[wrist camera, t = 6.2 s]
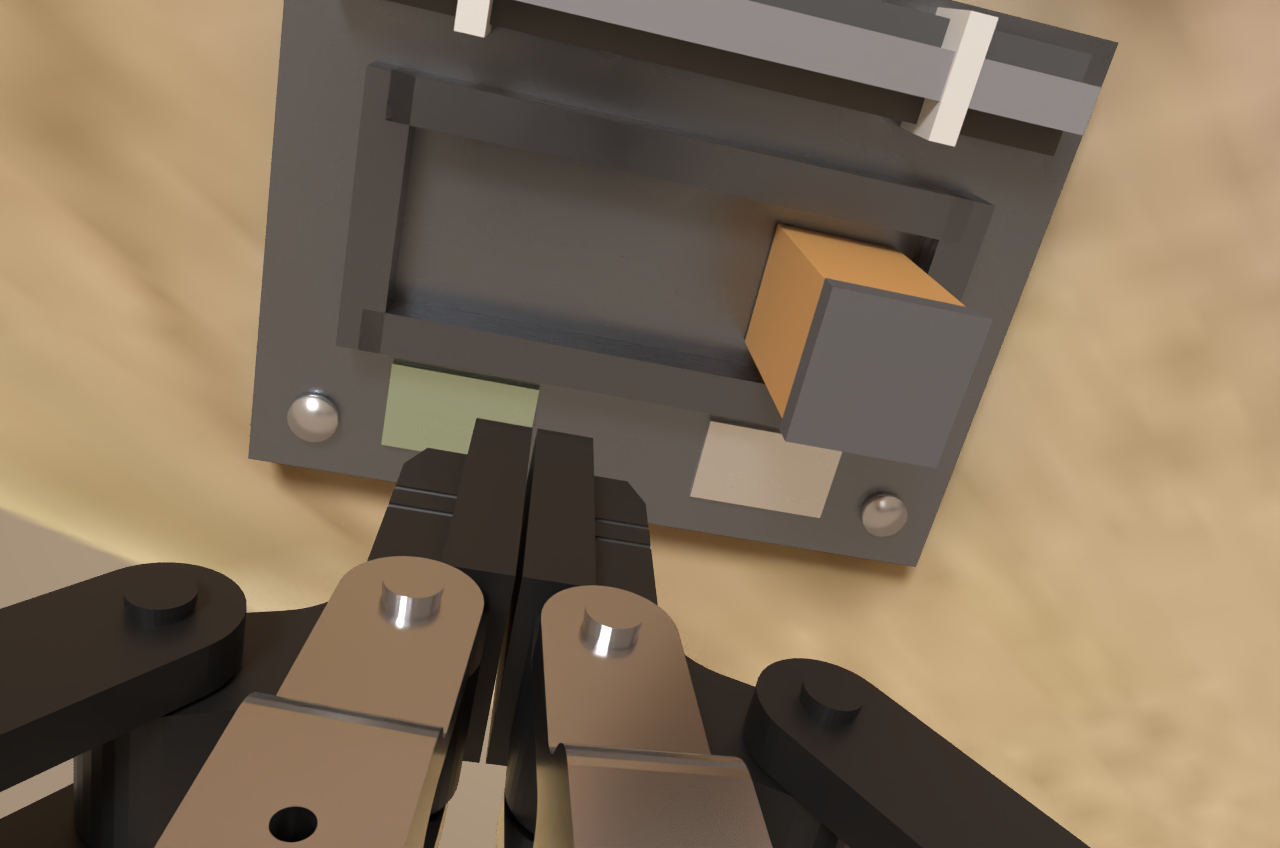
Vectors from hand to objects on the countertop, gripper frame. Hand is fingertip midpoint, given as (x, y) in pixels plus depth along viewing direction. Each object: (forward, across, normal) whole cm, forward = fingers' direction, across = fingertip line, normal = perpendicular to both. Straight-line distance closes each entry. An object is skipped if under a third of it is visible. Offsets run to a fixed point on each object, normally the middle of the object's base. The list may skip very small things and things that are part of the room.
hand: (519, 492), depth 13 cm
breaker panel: (+13, -2, 0) cm, 14 cm away
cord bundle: (+12, -3, -6) cm, 14 cm away
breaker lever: (+12, -7, 0) cm, 14 cm away
